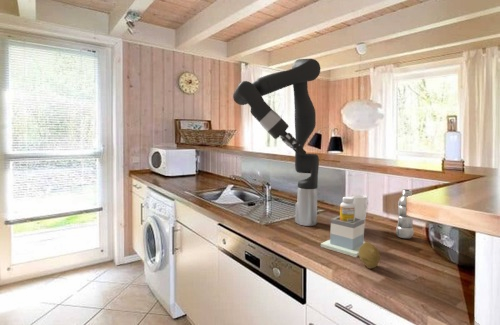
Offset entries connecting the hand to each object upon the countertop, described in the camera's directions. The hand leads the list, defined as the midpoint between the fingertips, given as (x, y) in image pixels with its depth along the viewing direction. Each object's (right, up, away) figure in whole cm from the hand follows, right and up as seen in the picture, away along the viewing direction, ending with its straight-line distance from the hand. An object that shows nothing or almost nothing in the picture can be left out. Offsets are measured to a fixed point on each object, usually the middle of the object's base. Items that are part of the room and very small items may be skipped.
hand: (302, 153), depth 121 cm
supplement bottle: (+16, -26, -5) cm, 31 cm away
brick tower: (+16, -35, -4) cm, 39 cm away
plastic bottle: (+43, -35, +7) cm, 56 cm away
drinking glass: (+28, -34, +19) cm, 48 cm away
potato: (+18, -37, -22) cm, 46 cm away
